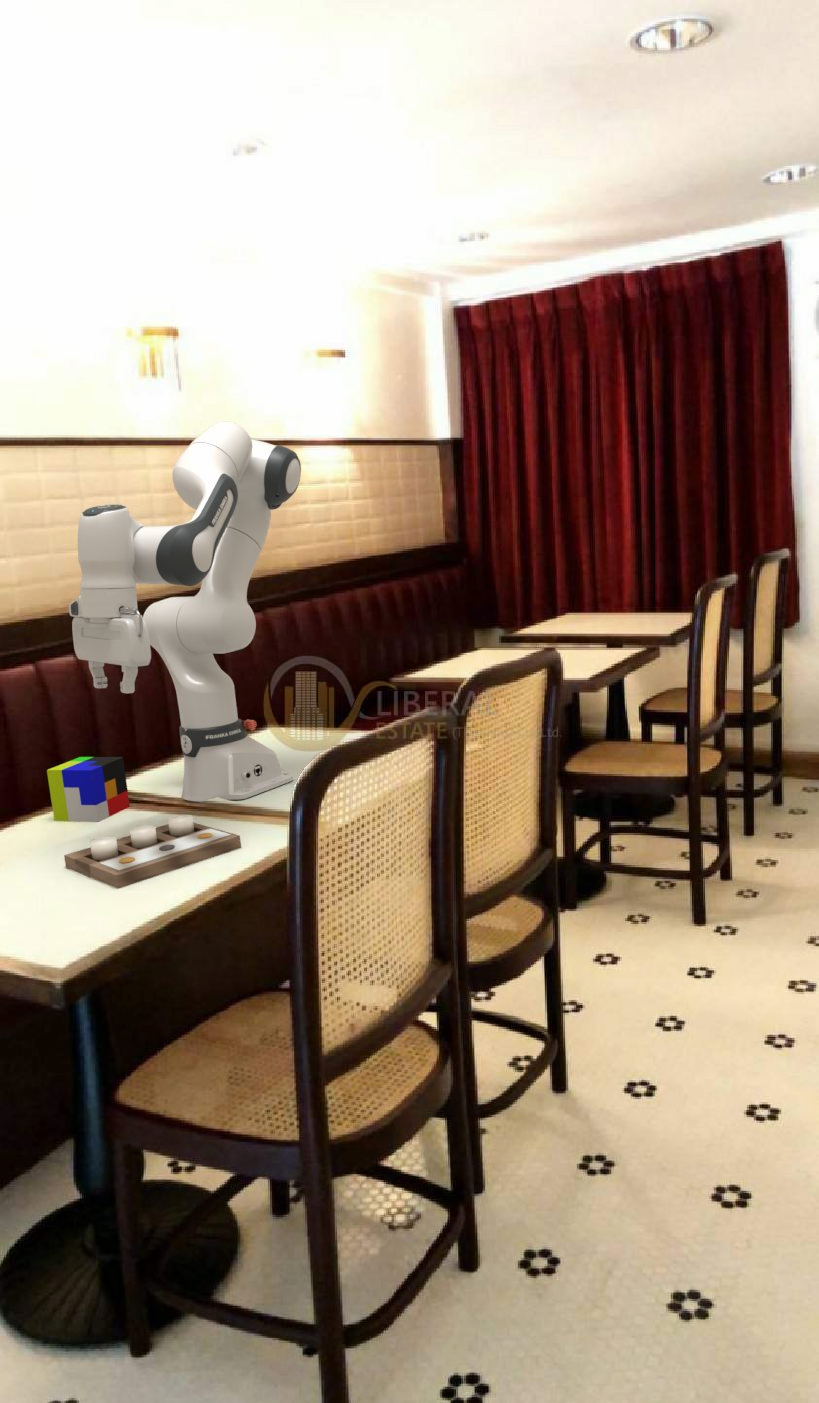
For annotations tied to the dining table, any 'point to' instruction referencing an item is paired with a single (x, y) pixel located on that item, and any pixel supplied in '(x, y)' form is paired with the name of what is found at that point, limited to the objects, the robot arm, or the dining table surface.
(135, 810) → the dining table surface
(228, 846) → the console
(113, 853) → the button
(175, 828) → the button
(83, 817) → the puzzle toy
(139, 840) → the middle button
